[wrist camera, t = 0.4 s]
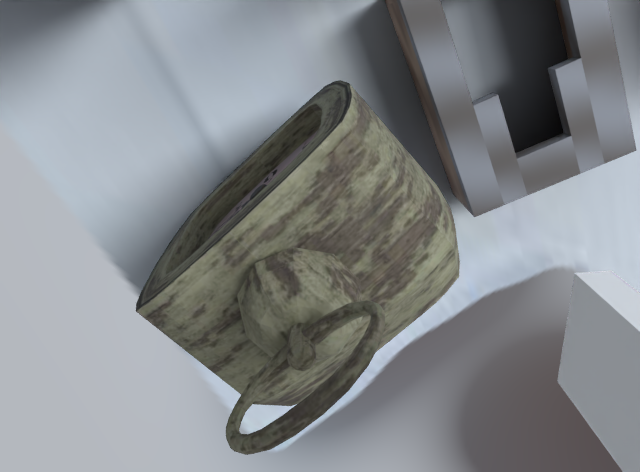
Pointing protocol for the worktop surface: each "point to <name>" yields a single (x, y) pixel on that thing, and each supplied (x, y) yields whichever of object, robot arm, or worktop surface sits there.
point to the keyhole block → (487, 115)
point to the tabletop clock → (305, 264)
